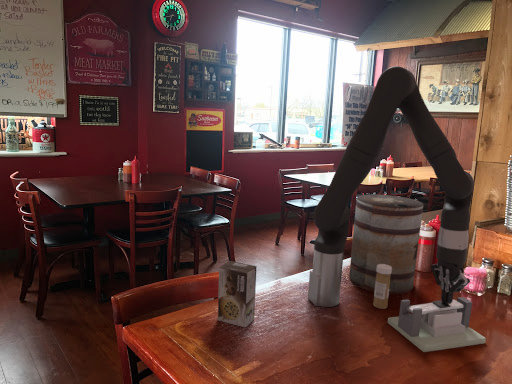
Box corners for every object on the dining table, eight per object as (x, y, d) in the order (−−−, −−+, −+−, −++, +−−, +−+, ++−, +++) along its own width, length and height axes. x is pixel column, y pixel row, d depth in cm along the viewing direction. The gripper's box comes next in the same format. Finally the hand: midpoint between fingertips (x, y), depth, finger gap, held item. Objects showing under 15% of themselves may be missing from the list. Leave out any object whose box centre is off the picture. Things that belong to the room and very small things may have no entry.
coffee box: (255, 318, 124) (257, 265, 121) (245, 328, 119) (247, 273, 116) (227, 311, 128) (229, 259, 125) (216, 320, 122) (218, 266, 119)
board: (423, 352, 111) (427, 319, 109) (386, 322, 126) (390, 292, 124) (485, 343, 117) (490, 311, 115) (443, 315, 132) (447, 287, 130)
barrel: (424, 283, 157) (434, 203, 151) (393, 300, 141) (404, 211, 136) (369, 265, 173) (377, 192, 167) (336, 279, 157) (344, 198, 151)
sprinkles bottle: (390, 307, 136) (395, 267, 133) (380, 310, 134) (385, 269, 131) (379, 301, 140) (383, 262, 137) (369, 304, 137) (373, 264, 135)
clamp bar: (414, 315, 116) (415, 311, 116) (406, 309, 119) (406, 305, 119) (463, 307, 121) (463, 303, 120) (453, 302, 124) (454, 298, 124)
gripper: (424, 237, 123) (419, 295, 126) (459, 252, 110) (452, 315, 113) (446, 235, 125) (441, 292, 128) (482, 250, 112) (475, 311, 116)
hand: (446, 303), depth 121 cm, fingers closed
